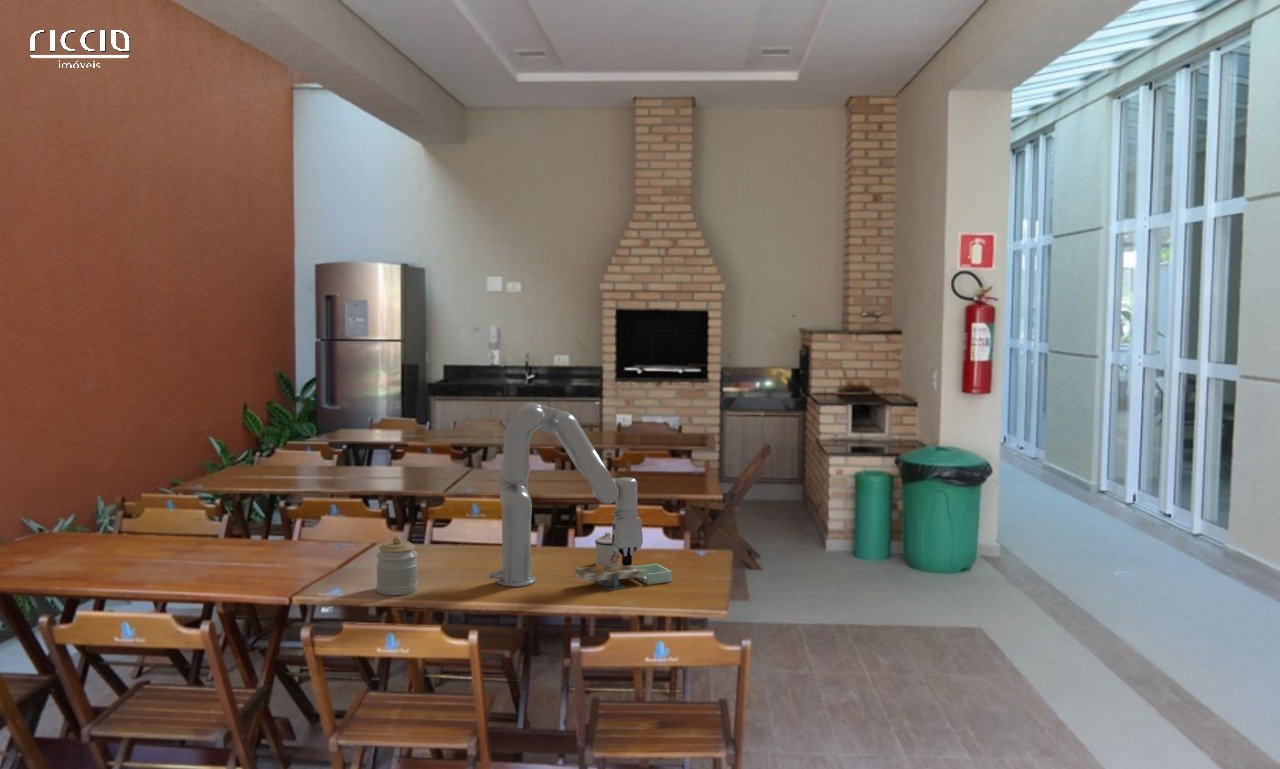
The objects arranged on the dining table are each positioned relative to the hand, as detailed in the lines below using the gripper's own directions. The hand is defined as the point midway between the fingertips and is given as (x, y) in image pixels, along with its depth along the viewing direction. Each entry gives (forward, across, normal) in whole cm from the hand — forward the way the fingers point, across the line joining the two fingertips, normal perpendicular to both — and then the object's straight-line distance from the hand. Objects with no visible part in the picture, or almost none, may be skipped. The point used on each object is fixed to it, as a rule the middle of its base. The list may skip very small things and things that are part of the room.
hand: (627, 566), depth 324 cm
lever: (0, -10, -4) cm, 11 cm away
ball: (-3, -14, -7) cm, 16 cm away
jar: (+2, -75, +16) cm, 77 cm away
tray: (+4, +6, -7) cm, 10 cm away
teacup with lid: (+4, +1, +17) cm, 17 cm away
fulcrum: (+3, -10, -7) cm, 12 cm away
